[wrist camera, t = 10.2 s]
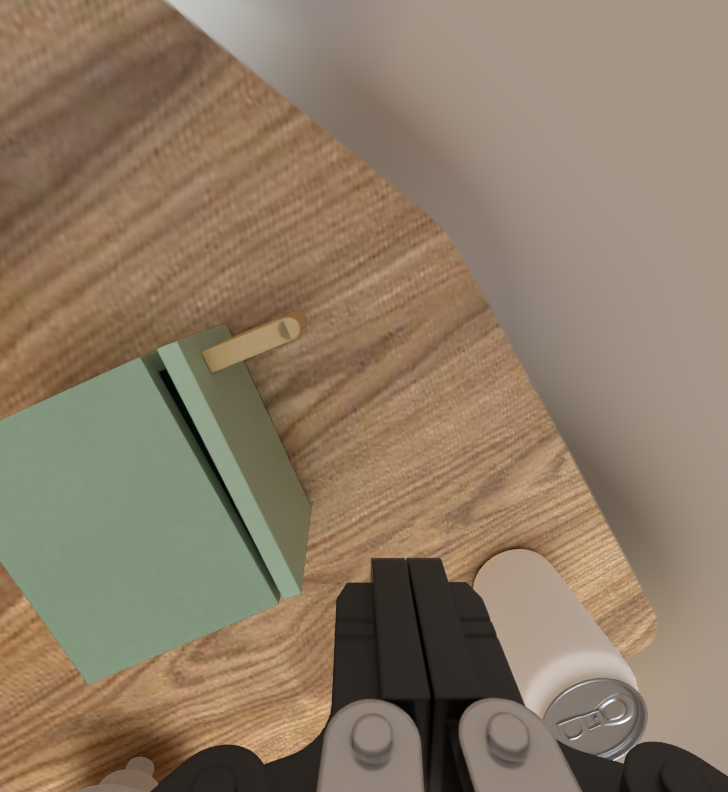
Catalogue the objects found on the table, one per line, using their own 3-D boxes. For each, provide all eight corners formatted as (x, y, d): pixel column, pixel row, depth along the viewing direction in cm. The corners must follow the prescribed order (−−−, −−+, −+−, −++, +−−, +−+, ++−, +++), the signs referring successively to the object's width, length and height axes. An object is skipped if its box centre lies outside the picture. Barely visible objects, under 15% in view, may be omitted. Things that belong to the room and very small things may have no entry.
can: (566, 599, 37) (672, 744, 25) (490, 633, 37) (559, 792, 26) (536, 531, 36) (634, 653, 24) (457, 568, 36) (515, 705, 24)
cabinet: (201, 333, 31) (139, 356, 21) (295, 513, 34) (278, 604, 25) (51, 402, 32) (-77, 454, 22) (157, 572, 35) (87, 685, 25)
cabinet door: (299, 292, 31) (282, 297, 21) (378, 481, 34) (394, 558, 24) (211, 328, 31) (156, 348, 21) (298, 512, 34) (283, 600, 25)
